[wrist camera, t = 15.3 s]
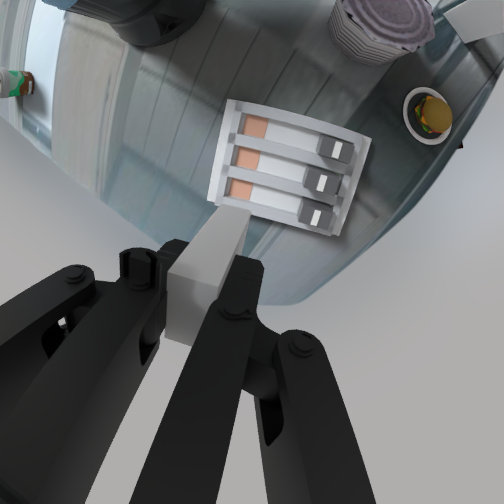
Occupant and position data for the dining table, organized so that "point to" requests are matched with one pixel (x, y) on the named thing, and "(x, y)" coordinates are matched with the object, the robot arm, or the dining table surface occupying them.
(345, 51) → the can
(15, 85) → the food container
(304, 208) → the breaker far
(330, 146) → the breaker near
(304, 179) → the breaker mid
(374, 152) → the dining table surface
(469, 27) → the milk
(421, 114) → the hamburger
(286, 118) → the panel
